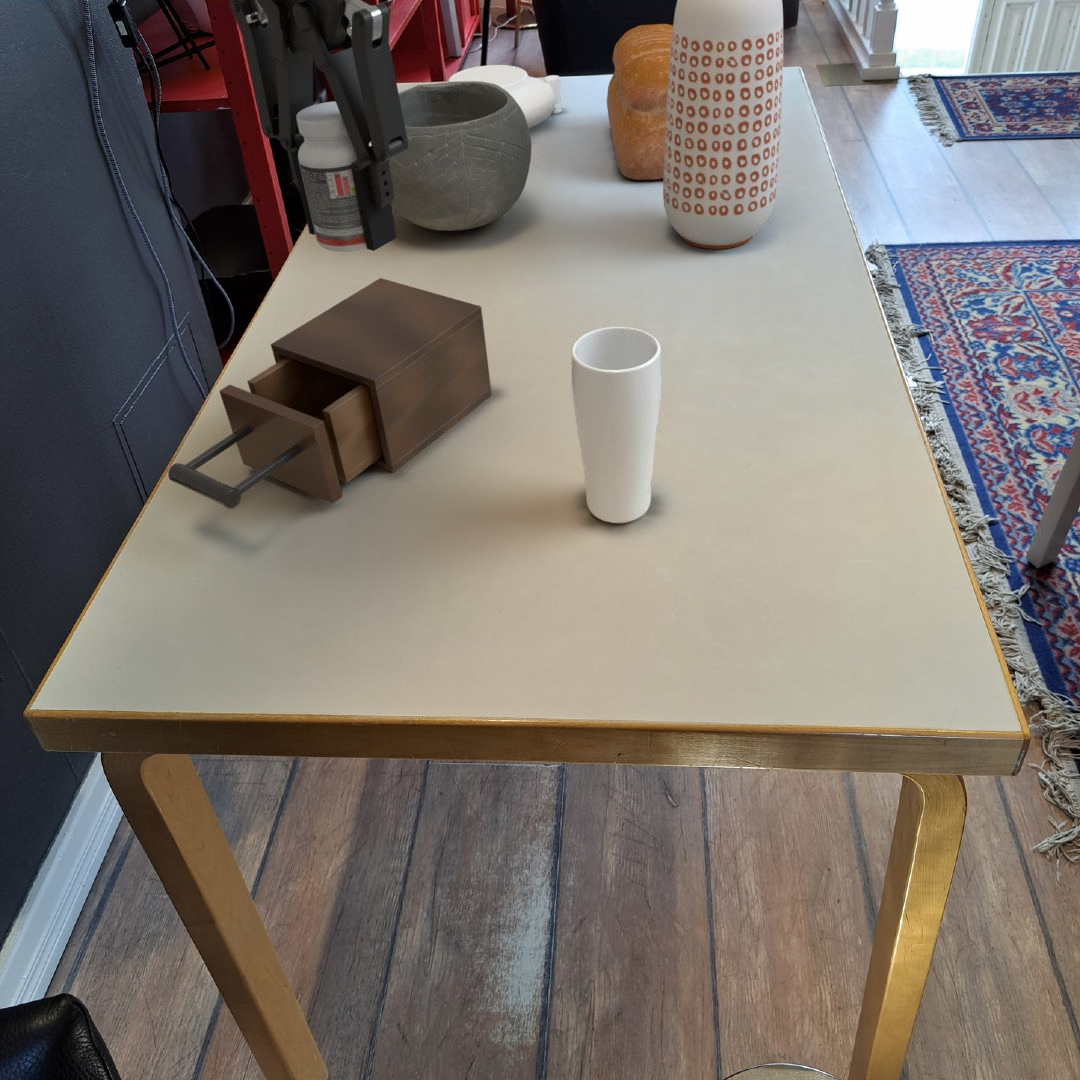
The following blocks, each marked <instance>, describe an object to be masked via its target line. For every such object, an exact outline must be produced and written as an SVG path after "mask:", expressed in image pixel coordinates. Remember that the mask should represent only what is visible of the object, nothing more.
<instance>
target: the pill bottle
mask: <svg viewBox="0 0 1080 1080" xmlns="http://www.w3.org/2000/svg"><path fill="white" fill-rule="evenodd" d="M296 118H297V124H298V128H299V132H300V133H301V134H302V136H303V137H304V141H305V142H304V143H303V144H302V145H301V146H300V148H299V151H298V159H299V164H300V169H301V173H302V177H303V182H304V186H305V190H306V195H307V199H308V204H309V208H310V213H311V217H312V222H313V226H314V231H315V235H314V236H315V239H316V241H317V243H318V244H319V246H320V247H322V248H323V249H326V250H328V251H331V252H337V253H339V252H340V253H346V252H347V253H348V252H349V253H350V252H357V251H362V250H367V246H366V241H365V236H364V231H363V226H362V221H361V216H360V210H359V205H358V200H357V195H356V190H355V185H354V179H353V174H352V169H351V166H352V164H351V163H353V162H355V161H357V160H358V158H357V156H356V153H355V150H354V148H353V145H352V143H351V140H350V138H349V135H348V132H347V130H346V127H345V125H344V122H343V119H342V117H341V114H340V112H339V109H338V106H337V104H336V101H327V102H326V101H325V102H320V103H316V104H313V105H312V106H309V107H307V108H305V109H303V110H301V111H300V112H298V114H297V116H296ZM369 146H371V143H369Z"/></svg>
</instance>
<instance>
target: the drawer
mask: <svg viewBox="0 0 1080 1080" xmlns="http://www.w3.org/2000/svg"><path fill="white" fill-rule="evenodd" d="M247 386H248V388H249V391H247V390H245V389H243V388H239V387H237V386H235V385H232V384H228V385H226V386H224V387H223V388H221V389H220V390H219V394H220V397H221V401H222V404H223V407H224V410H225V413H226V416H227V419H228V422H229V425H230V428H231V431H232V433H231V434H230V435H228V436H226V438H223V439H222V440H221V441H219V442H217V443H216V444H215V445H213V446H211V447H210V448H208V449H207V450H205V451H204V452H202V453H201V454H199V455H198V456H196V457H194V458H193V459H191V460H190V461H189V462H187V463H185V464H183V463H181V462H176V463H174V464H172V465H171V466H170V467H169V470H168V472H167V473H168V474H167V476H168V478H169V480H170V481H171V482H173V483H175V484H177V485H180V486H181V487H183V488H185V489H188V490H190V491H192V492H194V493H196V494H198V495H200V496H202V497H204V498H206V499H209V501H210V500H211V501H213V502H215V503H216V504H219V505H221V506H223V507H225V508H227V509H235V508H236V507H237V506H238V505H239V504H240V502H241V500H242V495H243V494H244V493H246V492H248V491H249V490H250V489H252V488H253V487H255V486H256V485H257V484H258V483H260V482H261V481H263V480H264V479H266V478H267V477H271V478H274V479H276V480H279V481H280V482H283V483H285V484H287V485H289V486H292V487H294V488H296V489H299V490H301V491H303V492H305V493H307V494H310V495H312V496H314V497H316V498H318V499H321V500H323V501H326V502H328V503H330V504H332V505H334V504H335V503H337V502H338V501H339V500H341V499H342V498H343V493H342V488H341V484H340V481H341V482H343V483H345V484H348V483H350V481H352V480H353V479H354V478H356V477H358V475H359V474H361V473H363V471H365V470H366V469H368V468H369V467H370V466H371V465H373V464H372V463H374V462H375V461H376V460H378V459H379V458H380V457H382V456H383V455H384V454H383V449H382V444H381V439H380V435H379V430H378V425H377V421H376V416H375V411H374V407H373V402H372V397H371V393H370V388H369V386H367V385H365V384H362V383H359V382H356V381H353V380H351V379H348V378H345V377H342V376H339V375H337V374H334V373H331V372H328V371H325V370H322V369H320V368H317V367H314V366H311V365H308V364H306V363H303V362H300V361H297V360H294V359H292V358H289V357H286V358H284V359H283V360H281V361H279V362H278V363H276V362H275V363H274V364H273V365H271V366H269V367H268V368H266V369H265V370H264V371H262V372H260V373H259V374H257V375H255V376H253V377H252V378H251V379H249V380H247ZM235 444H236V446H237V449H238V452H239V455H240V458H241V462H242V464H243V465H244V466H247V467H248V468H251V469H253V470H256V472H254V473H252V474H251V475H249V476H248V477H246V478H245V479H244V480H242V481H240V483H238V484H237V485H236V486H234V487H233V486H230V485H228V484H226V483H224V482H222V481H219V480H218V479H215V478H213V477H211V476H209V475H207V474H204V472H203V473H202V472H201V471H198V470H197V469H199V468H200V467H202V466H204V465H205V464H207V463H208V462H210V461H211V460H212V459H214V458H215V457H217V456H218V455H220V454H222V453H223V452H224V451H226V450H228V449H229V448H231V447H232V446H233V445H235Z"/></svg>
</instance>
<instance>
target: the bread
mask: <svg viewBox="0 0 1080 1080" xmlns="http://www.w3.org/2000/svg"><path fill="white" fill-rule="evenodd" d="M672 33H673V24H668V23H657V24H656V23H655V24H642V25H638V26H636V27H633V28H630V29H629V30H627V31H626V32H625V33H624V34H623V35H622V36H621V37H620V38H619V40H618V41H617V42H616V43H615V45H614V49H613V53H612V64H613V67H614V72H613V74H612V76H611V79H610V80H609V82H608V86H607V95H606V107H607V115H608V123H609V127H610V135H611V136H610V137H611V141H612V144H613V148H614V155H615V160H616V163H617V164H616V165H617V168H618V170H619V172H620V174H621V175H623V176H624V177H625V178H628V179H630V180H636V181H637V180H639V181H643V180H645V181H647V180H649V181H650V180H653V181H654V180H662V179H663V178H664V153H665V129H666V108H667V92H668V77H669V63H670V52H671V42H672Z"/></svg>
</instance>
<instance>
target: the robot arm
mask: <svg viewBox="0 0 1080 1080" xmlns="http://www.w3.org/2000/svg"><path fill="white" fill-rule="evenodd" d="M229 6H230V10H231V12H232V15H233V17H234V19H235V22H236V24H237V27H238V29H239V32H240V33H241V38H242V42H243V47H244V51H245V57H246V61H247V66H248V69H249V75H250V79H251V84H252V85H251V86H252V89H253V94H254V99H255V103H256V108H257V113H258V117H259V122H260V127H261V130H262V133H263V135H264V137H266V138H267V139H273V138H275V139H276V140H278V141H279V144H280V146H281V147H282V148H283V149H284V150H285V151H286V152H287V156H288V160H289V164H290V165H289V166H290V169H291V174H292V177H293V181H294V183H295V186H296V188H297V189H299V194H300V198H301V203H302V207H303V211H304V217H305V220H306V224H307V229H308V233H309V234H310V235H313V236H316V235H315V231H314V226H313V222H312V217H311V213H310V208H309V204H308V199H307V195H306V190H305V186H304V182H303V177H302V173H301V169H300V164H299V159H298V151H299V148H300V146H301V145H302V144H303V143H304V142H305V141H304V137H303V136H302V134H301V133H300V132H299V128H298V124H297V118H296V116H297V114H298V112H300V111H301V110H303V109H305V108H307V107H309V106H312V105H314V74H313V73H314V69H313V67H314V65H313V63H314V64H315V67H316V68H317V70H319V71H321V72H323V73H324V75H325V78H326V81H327V83H328V86H329V88H330V90H331V94H332V96H333V99H334V102H336V104H337V106H338V109H339V112H340V114H341V117H342V119H343V122H344V125H345V127H346V130H347V132H348V135H349V138H350V140H351V143H352V145H353V148H354V150H355V153H356V156H357V158H358V160H357V161H355V162H353V163H351V164H352V166H351V169H352V174H353V179H354V185H355V190H356V195H357V200H358V205H359V210H360V216H361V221H362V226H363V231H364V236H365V241H366V246H367V248H366V250H369V251H372V252H375V251H376V250H378V249H380V248H381V247H383V246H385V245H387V244H389V243H390V242H392V241H394V240H396V239H397V238H398V235H397V230H396V225H395V219H394V212H393V211H392V206H391V202H393V201H394V190H393V184H392V178H391V172H390V166H389V159H390V158H392V157H394V156H396V155H398V154H400V153H402V152H404V151H406V150H407V149H408V140H407V135H406V130H405V125H404V119H403V114H402V109H401V104H400V98H399V93H400V92H399V88H398V83H397V78H396V73H395V72H396V71H395V67H394V62H393V57H392V56H393V55H392V52H391V45H390V22H391V12H390V10H389V7H388V6H387V5H386V4H385V3H383V2H379V3H376V4H374V5H371V4H369V3H367V2H365V1H363V0H229ZM339 49H341V50H340V51H337V50H339ZM334 51H337V52H335V53H332V54H331V52H334ZM276 114H277V115H278V116H276V117H275V115H276ZM370 141H372V145H371V146H369V143H370Z"/></svg>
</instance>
